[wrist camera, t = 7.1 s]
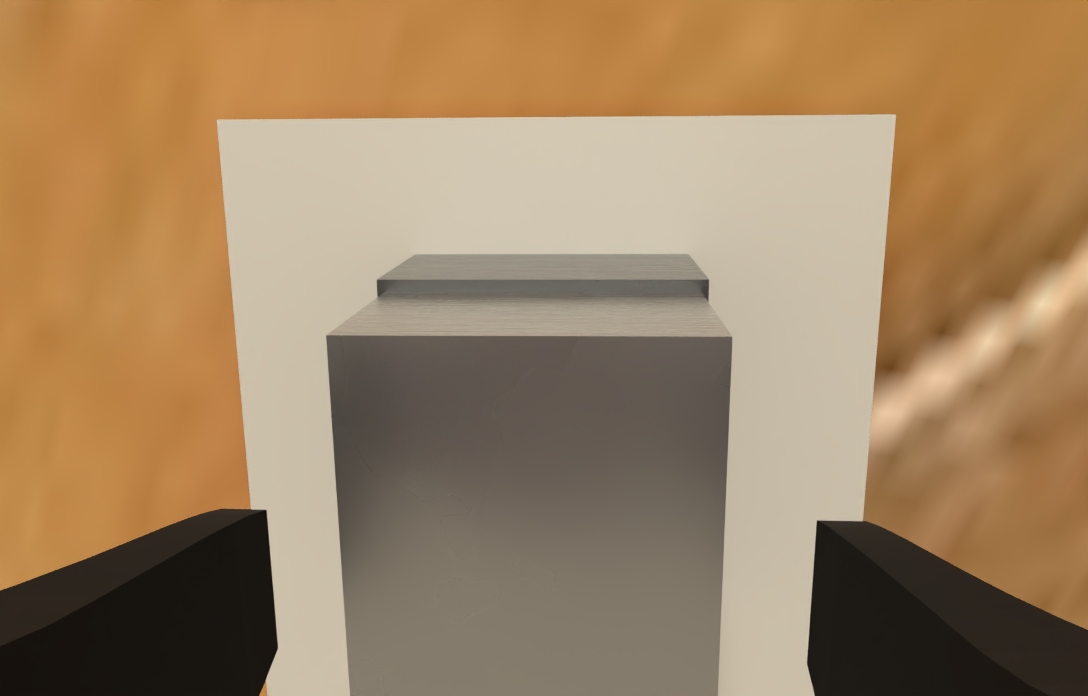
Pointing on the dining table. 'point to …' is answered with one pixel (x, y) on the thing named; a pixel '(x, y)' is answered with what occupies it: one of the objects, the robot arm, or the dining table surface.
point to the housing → (532, 477)
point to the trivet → (571, 228)
